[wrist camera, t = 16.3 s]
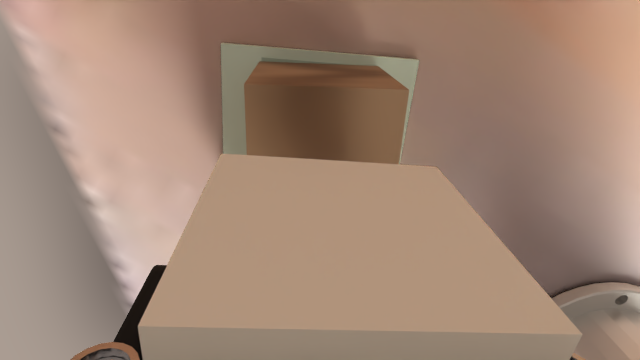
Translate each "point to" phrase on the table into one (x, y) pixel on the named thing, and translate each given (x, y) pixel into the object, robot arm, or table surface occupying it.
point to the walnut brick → (324, 112)
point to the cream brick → (345, 272)
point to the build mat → (246, 57)
